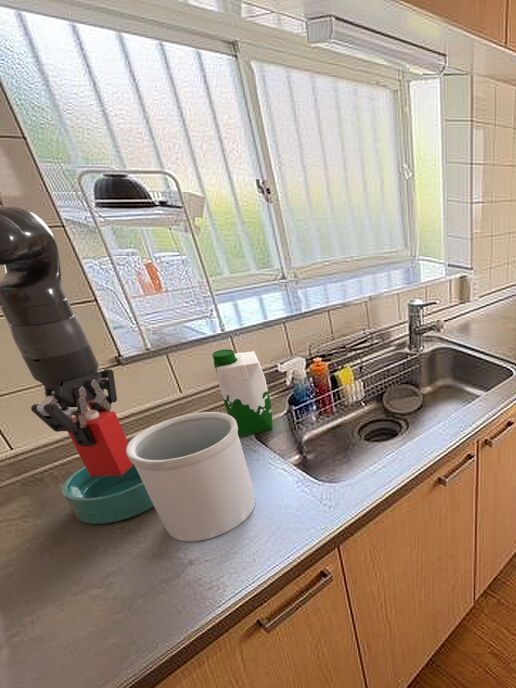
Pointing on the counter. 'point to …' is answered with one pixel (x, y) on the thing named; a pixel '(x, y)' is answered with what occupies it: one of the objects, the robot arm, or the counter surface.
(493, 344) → the counter surface
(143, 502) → the teal bowl
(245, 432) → the milk carton
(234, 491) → the utensil holder
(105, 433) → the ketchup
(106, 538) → the counter surface
